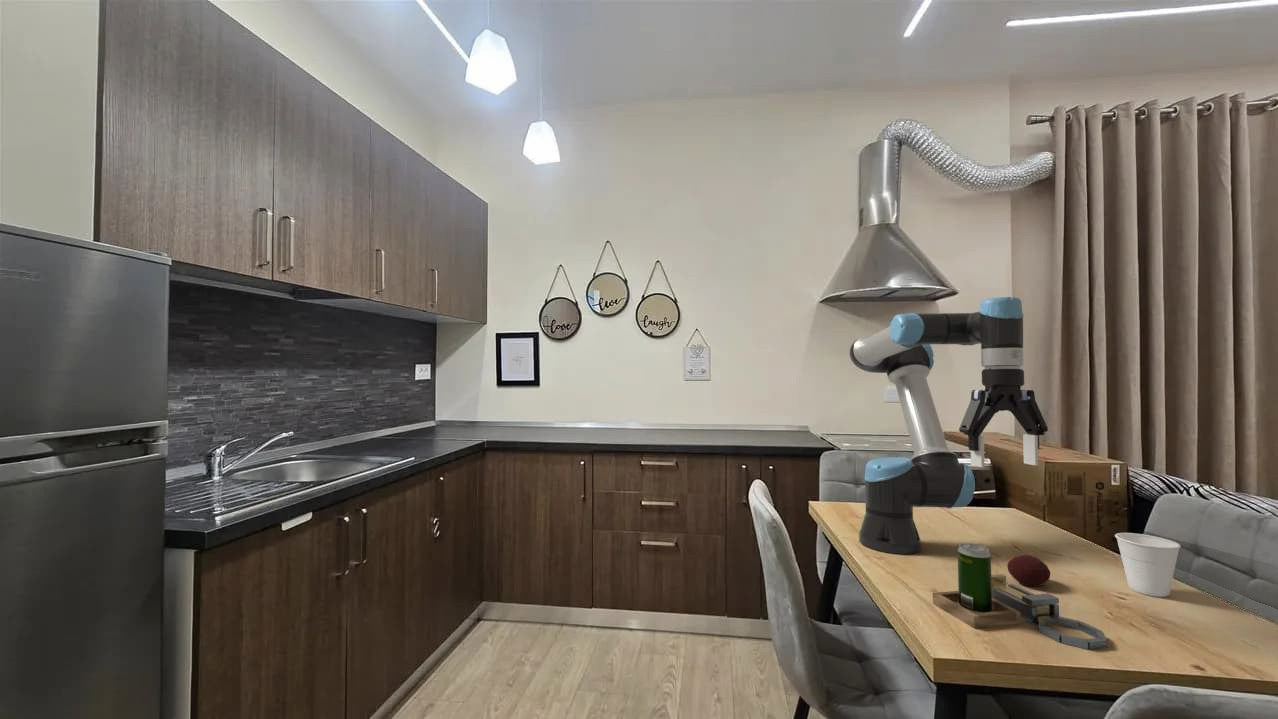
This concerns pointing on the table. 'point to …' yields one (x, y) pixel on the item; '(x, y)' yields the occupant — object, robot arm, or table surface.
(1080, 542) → the table surface
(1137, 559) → the cup
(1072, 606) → the table surface
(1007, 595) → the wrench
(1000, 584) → the tan block
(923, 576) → the table surface
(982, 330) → the robot arm
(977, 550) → the beer can
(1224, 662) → the table surface
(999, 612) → the brown wooden square frame
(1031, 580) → the potato
